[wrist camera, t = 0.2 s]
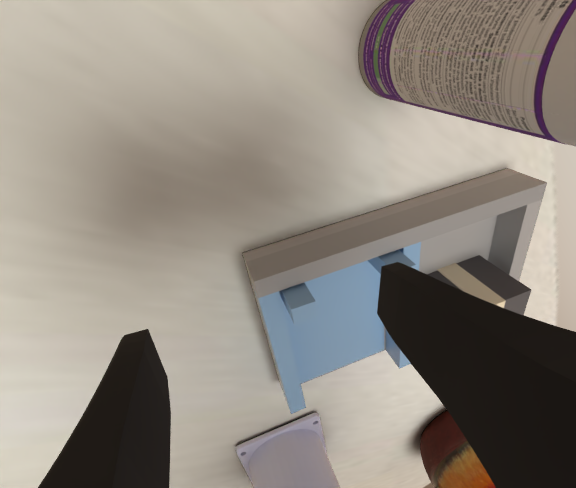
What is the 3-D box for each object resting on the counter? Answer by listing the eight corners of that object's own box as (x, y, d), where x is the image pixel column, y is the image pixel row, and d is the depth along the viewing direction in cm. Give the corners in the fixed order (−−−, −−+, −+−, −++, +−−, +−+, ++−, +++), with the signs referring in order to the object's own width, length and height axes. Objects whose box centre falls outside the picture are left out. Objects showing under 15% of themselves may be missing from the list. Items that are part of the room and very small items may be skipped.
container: (453, 20, 18) (1115, -23, 5) (409, 111, 19) (835, 230, 7) (385, -27, 16) (1208, -268, 3) (342, 79, 17) (784, 171, 5)
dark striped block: (472, 290, 28) (520, 328, 25) (409, 314, 27) (449, 358, 24) (479, 253, 26) (533, 289, 22) (411, 278, 25) (456, 320, 21)
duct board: (479, 301, 31) (522, 335, 28) (279, 380, 28) (298, 432, 24) (507, 168, 24) (570, 191, 20) (242, 253, 21) (260, 299, 17)
